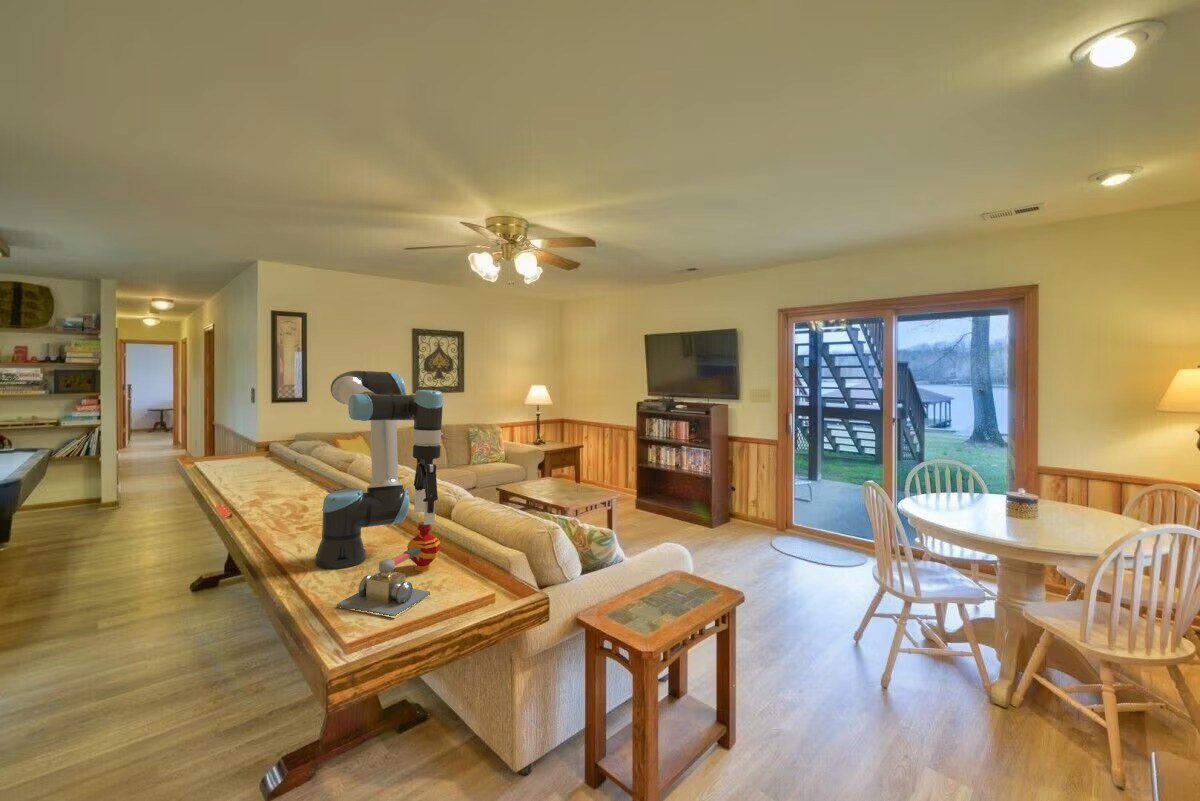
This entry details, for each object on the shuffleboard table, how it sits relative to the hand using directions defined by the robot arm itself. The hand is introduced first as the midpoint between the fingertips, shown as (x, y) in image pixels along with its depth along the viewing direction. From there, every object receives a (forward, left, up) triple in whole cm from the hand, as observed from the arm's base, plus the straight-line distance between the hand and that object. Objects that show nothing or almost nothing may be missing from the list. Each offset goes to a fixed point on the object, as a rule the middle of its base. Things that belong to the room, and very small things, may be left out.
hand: (423, 517), depth 147 cm
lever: (-7, -1, -14) cm, 15 cm away
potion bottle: (-12, +18, -23) cm, 31 cm away
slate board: (-7, -7, -23) cm, 25 cm away
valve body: (-7, -7, -23) cm, 25 cm away
